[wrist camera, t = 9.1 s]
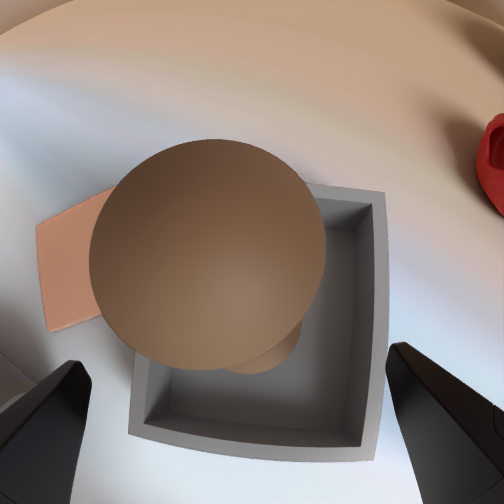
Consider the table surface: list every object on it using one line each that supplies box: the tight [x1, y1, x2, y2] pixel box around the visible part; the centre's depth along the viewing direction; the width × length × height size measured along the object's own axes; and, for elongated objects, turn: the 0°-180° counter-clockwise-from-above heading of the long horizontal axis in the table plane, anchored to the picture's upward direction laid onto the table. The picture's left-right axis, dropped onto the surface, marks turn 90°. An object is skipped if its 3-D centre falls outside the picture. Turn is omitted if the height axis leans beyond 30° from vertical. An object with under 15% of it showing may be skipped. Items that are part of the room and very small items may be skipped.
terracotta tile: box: [36, 186, 116, 333], centre depth 21 cm, size 9×9×1 cm
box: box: [128, 184, 389, 462], centre depth 17 cm, size 14×12×5 cm
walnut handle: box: [89, 139, 326, 374], centre depth 12 cm, size 6×6×14 cm
